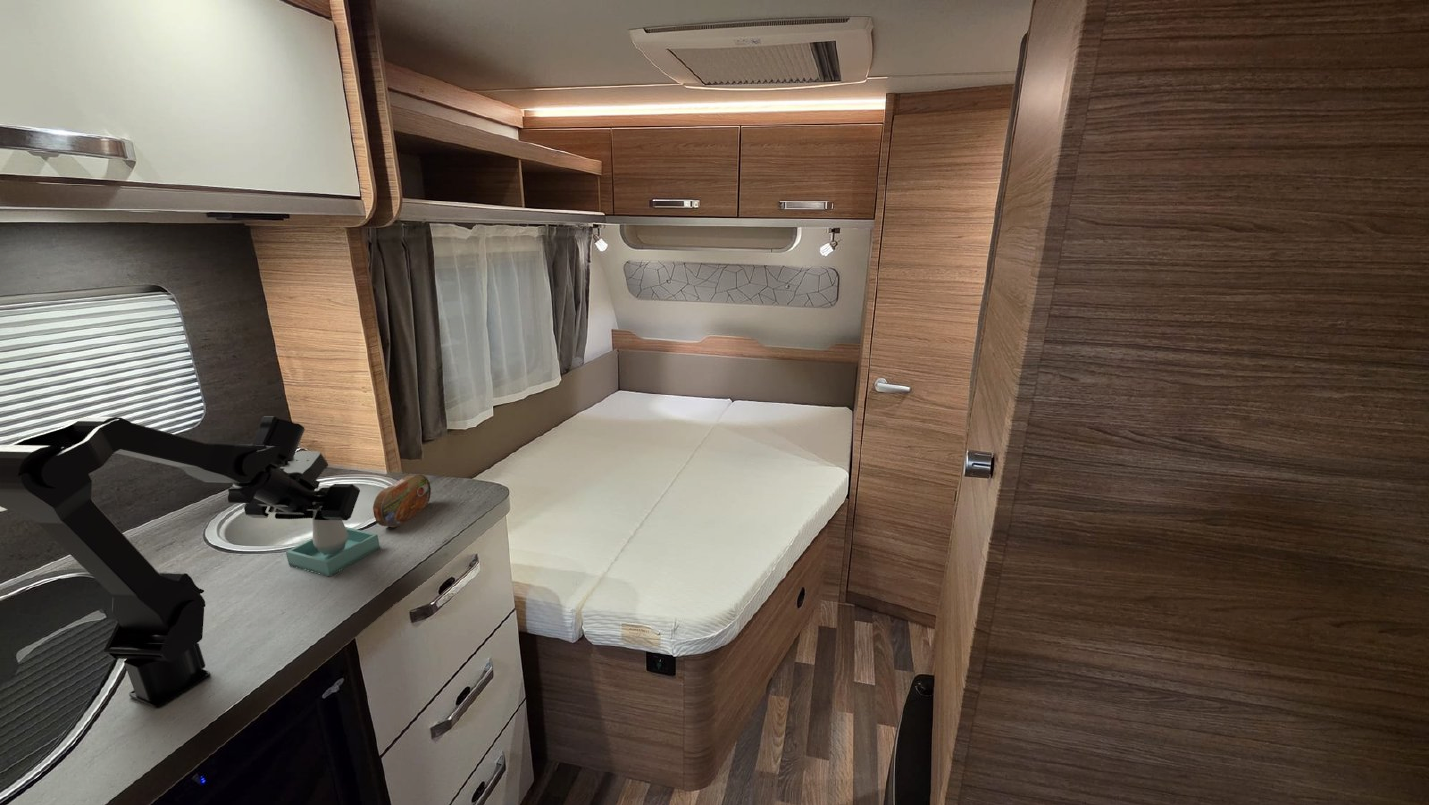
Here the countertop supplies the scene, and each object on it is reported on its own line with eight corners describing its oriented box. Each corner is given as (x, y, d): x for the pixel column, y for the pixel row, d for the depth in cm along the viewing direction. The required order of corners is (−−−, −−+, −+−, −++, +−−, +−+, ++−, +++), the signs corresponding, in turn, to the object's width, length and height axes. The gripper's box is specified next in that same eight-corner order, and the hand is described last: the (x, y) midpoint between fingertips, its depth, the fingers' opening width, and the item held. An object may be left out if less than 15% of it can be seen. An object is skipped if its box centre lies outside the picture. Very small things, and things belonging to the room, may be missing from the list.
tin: (387, 534, 121) (380, 498, 119) (374, 533, 122) (367, 496, 119) (434, 502, 135) (429, 469, 133) (422, 501, 136) (416, 467, 134)
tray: (329, 576, 107) (326, 562, 106) (289, 565, 110) (285, 551, 109) (380, 547, 116) (377, 534, 115) (341, 538, 120) (338, 525, 119)
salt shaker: (332, 540, 116) (319, 480, 112) (357, 542, 115) (345, 482, 111) (307, 556, 110) (293, 493, 106) (334, 558, 109) (321, 495, 106)
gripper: (343, 444, 102) (391, 477, 115) (242, 442, 103) (301, 475, 116) (319, 505, 96) (373, 532, 110) (213, 502, 97) (279, 529, 111)
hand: (331, 515), depth 112 cm, fingers closed on salt shaker, 3 cm apart
